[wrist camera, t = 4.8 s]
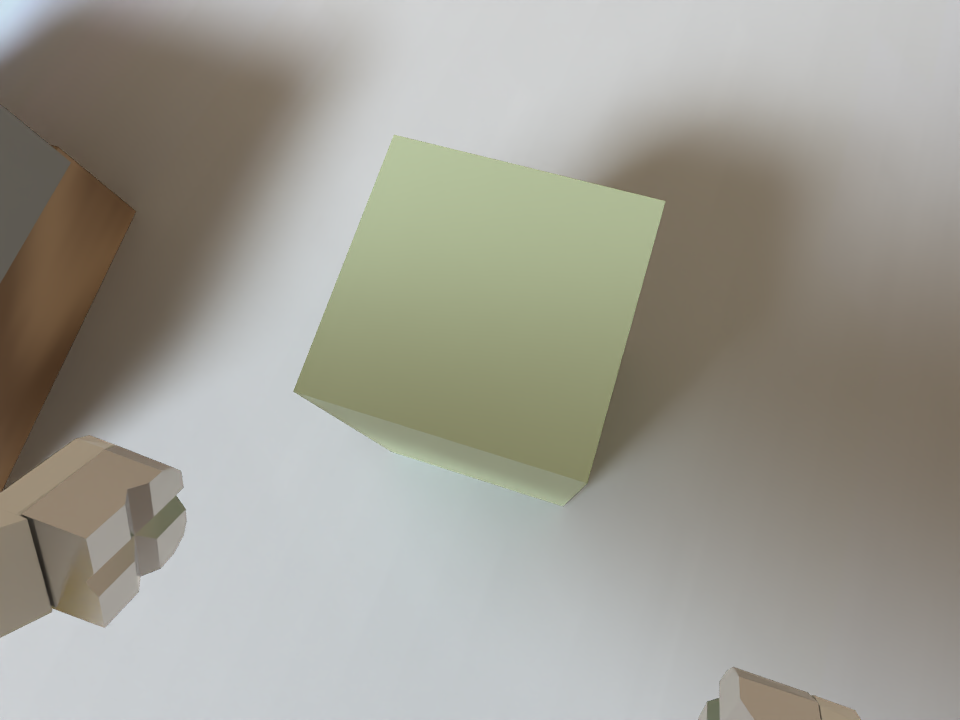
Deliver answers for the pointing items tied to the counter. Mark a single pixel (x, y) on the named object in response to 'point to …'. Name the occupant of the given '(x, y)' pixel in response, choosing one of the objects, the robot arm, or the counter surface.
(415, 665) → the counter surface
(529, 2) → the counter surface
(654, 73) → the counter surface
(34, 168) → the tower top
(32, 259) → the tower base
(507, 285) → the sage block
